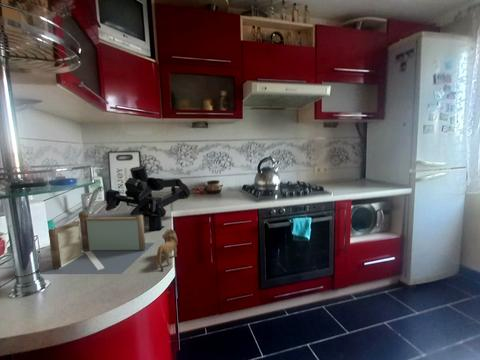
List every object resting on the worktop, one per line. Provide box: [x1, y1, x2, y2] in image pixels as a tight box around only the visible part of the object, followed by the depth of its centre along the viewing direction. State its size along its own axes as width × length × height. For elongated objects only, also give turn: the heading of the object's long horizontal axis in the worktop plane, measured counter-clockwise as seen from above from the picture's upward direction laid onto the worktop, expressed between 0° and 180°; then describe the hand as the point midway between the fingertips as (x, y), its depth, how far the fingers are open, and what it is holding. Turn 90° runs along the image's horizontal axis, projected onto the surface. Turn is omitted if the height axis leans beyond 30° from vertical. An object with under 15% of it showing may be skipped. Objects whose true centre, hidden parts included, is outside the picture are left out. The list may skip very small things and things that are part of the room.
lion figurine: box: [155, 228, 178, 272], centre depth 77 cm, size 15×5×9 cm, turn 6°
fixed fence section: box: [48, 210, 90, 270], centre depth 81 cm, size 16×3×14 cm, turn 177°
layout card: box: [39, 242, 155, 275], centre depth 83 cm, size 24×26×1 cm
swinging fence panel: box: [86, 214, 146, 250], centre depth 87 cm, size 2×20×12 cm, turn 87°
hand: (118, 211), depth 87 cm, fingers open, 9 cm apart
